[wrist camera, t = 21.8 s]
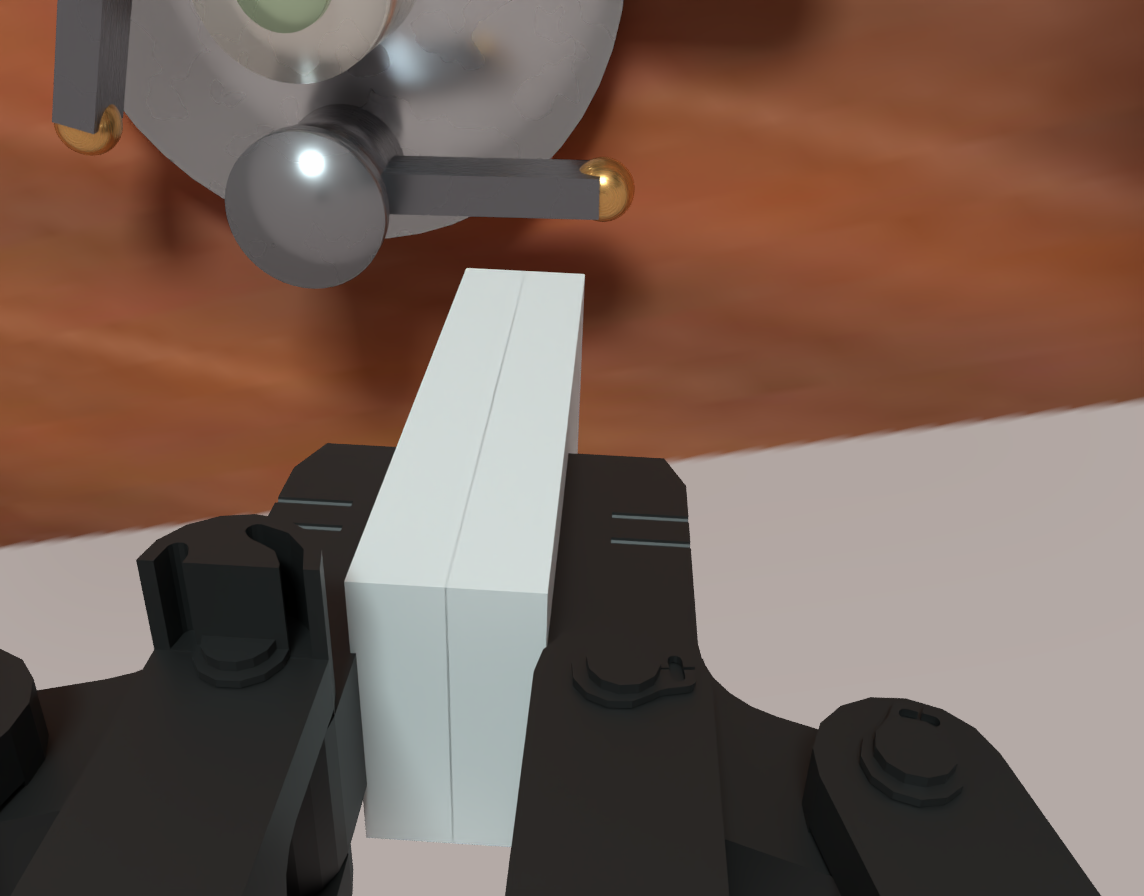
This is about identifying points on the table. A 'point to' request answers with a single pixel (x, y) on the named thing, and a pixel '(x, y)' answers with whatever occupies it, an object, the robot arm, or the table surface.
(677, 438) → the table surface
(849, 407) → the table surface
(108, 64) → the knob
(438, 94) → the tribrach plate
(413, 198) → the knob
